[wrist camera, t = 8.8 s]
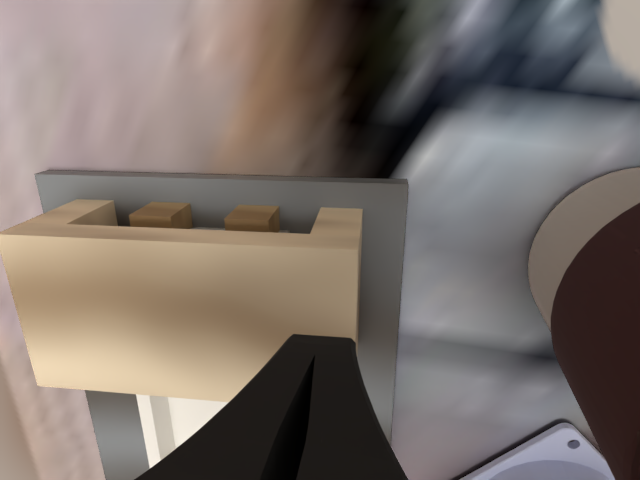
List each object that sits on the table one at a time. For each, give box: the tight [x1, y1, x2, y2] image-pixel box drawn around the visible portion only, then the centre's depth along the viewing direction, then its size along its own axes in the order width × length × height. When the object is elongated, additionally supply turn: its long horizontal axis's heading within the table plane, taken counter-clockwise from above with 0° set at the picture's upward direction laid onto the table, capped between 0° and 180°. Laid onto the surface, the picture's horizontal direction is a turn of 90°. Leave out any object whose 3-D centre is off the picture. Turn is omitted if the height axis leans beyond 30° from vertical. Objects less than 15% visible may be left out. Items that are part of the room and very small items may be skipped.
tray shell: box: [136, 227, 290, 468], centre depth 19 cm, size 12×6×2 cm, turn 0°
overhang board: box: [0, 170, 408, 480], centre depth 20 cm, size 23×15×5 cm, turn 0°
